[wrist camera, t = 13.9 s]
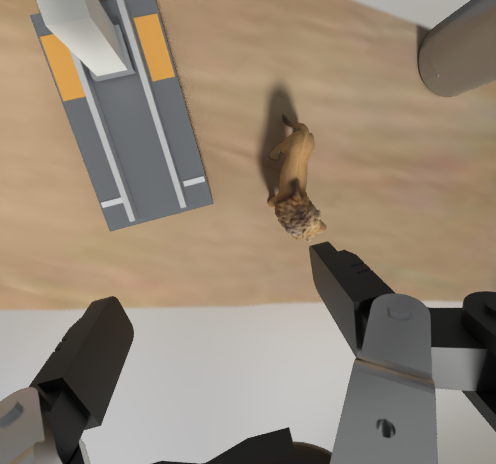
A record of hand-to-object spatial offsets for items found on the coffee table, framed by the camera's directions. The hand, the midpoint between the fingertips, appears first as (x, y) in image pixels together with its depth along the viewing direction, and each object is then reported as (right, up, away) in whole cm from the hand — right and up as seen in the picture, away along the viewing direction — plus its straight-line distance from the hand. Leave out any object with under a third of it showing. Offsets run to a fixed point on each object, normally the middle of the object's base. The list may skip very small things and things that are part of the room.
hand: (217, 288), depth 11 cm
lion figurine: (+6, +9, +24) cm, 26 cm away
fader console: (-12, +15, +20) cm, 28 cm away
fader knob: (-13, +20, +16) cm, 28 cm away
